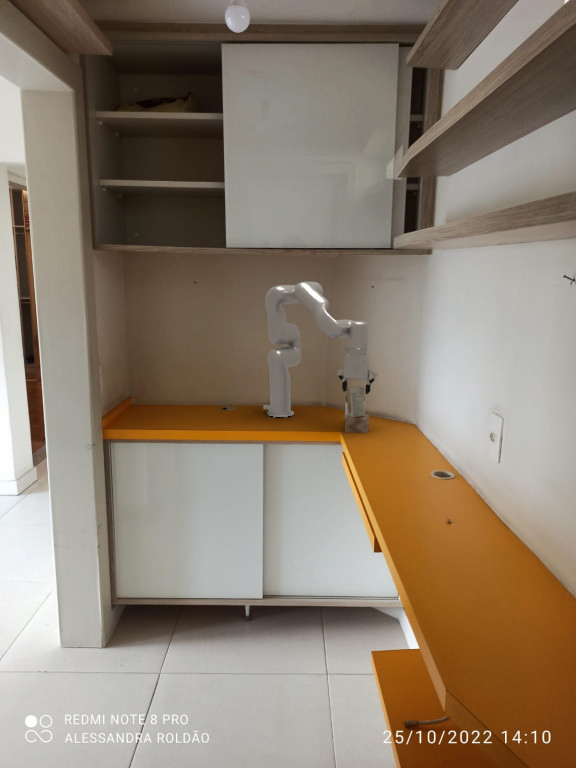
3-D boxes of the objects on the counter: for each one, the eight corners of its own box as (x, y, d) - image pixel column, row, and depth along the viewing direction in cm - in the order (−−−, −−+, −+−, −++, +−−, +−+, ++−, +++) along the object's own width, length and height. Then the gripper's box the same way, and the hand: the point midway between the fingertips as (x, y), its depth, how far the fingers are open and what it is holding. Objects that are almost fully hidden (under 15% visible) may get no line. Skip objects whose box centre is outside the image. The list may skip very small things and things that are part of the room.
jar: (368, 423, 242) (369, 396, 240) (355, 426, 237) (356, 398, 235) (354, 419, 249) (354, 393, 247) (341, 422, 244) (341, 395, 242)
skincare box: (361, 413, 233) (360, 385, 231) (365, 416, 229) (364, 387, 227) (347, 415, 232) (346, 387, 229) (351, 417, 227) (349, 388, 225)
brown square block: (344, 432, 228) (345, 418, 227) (347, 427, 237) (348, 413, 235) (366, 433, 226) (366, 419, 225) (368, 428, 234) (369, 414, 233)
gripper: (334, 351, 226) (333, 391, 229) (375, 354, 218) (373, 396, 222) (340, 349, 232) (339, 388, 236) (380, 352, 225) (378, 392, 229)
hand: (356, 392), depth 229 cm, fingers open, 9 cm apart
